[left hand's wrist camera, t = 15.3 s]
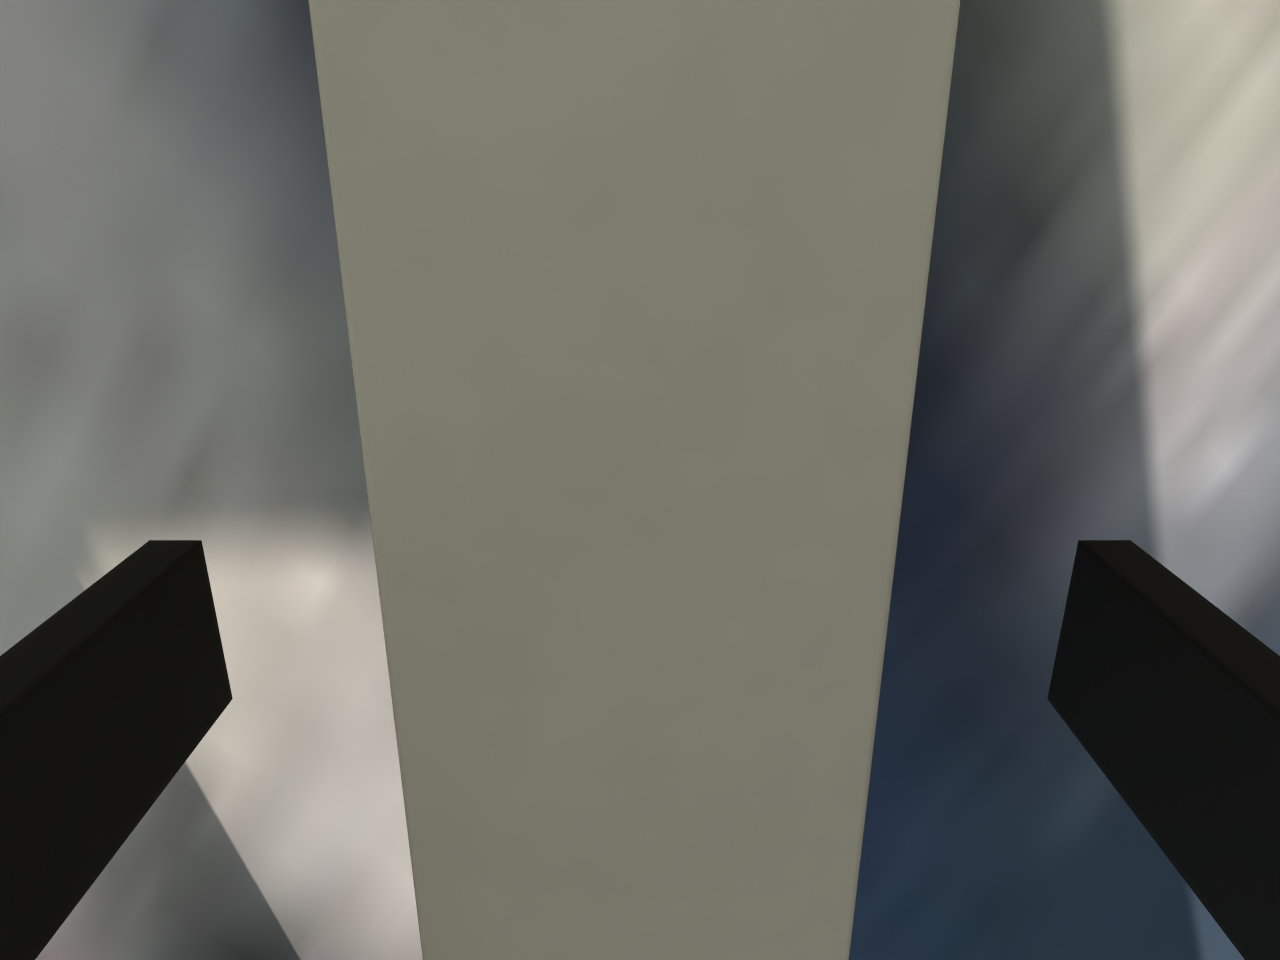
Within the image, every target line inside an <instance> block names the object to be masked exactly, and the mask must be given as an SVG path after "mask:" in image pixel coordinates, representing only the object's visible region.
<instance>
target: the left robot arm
mask: <svg viewBox="0 0 1280 960" xmlns="http://www.w3.org/2000/svg"><path fill="white" fill-rule="evenodd" d="M231 700H232V694H231V689H230V684H229V679H228V674H227V668H226V663H225V658H224V653H223V648H222V643H221V638H220V633H219V628H218V623H217V617H216V612H215V607H214V602H213V597H212V592H211V587H210V582H209V577H208V571H207V566H206V561H205V556H204V551H203V546H202V541H201V540H149V541H148V542H147V543H146V544H144V545H143V546H142V547H140V548H139V549H138V550H137V551H135V552H134V553H133V554H131V555H130V556H129V557H128V558H126V559H125V560H124V561H122V562H121V563H120V564H119V565H117V566H116V567H115V568H113V569H112V570H111V571H109V572H108V573H107V574H106V575H104V576H103V577H102V578H100V579H99V580H98V581H97V582H95V583H94V584H93V585H91V586H90V587H89V588H88V589H86V590H85V591H84V592H82V593H81V594H80V595H79V596H77V597H76V598H75V599H73V600H72V601H71V602H69V603H68V604H67V605H66V606H64V607H63V608H62V609H60V610H59V611H58V612H57V613H55V614H54V615H53V616H51V617H50V618H49V619H48V620H46V621H45V622H44V623H42V624H41V625H40V626H39V627H37V628H36V629H35V630H33V631H32V632H31V633H30V634H28V635H27V636H26V637H24V638H23V639H22V640H20V641H19V642H18V643H17V644H15V645H14V646H13V647H11V648H10V649H9V650H8V651H6V652H5V653H4V654H2V655H1V656H0V960H35V959H36V958H37V956H38V955H39V954H40V953H41V951H42V950H43V949H44V947H45V946H46V945H47V943H48V942H49V941H50V939H51V938H52V937H53V935H54V934H55V933H56V931H57V930H58V929H59V927H60V926H61V925H62V923H63V922H64V921H65V919H66V918H67V917H68V916H69V914H70V913H71V912H72V910H73V909H74V908H75V906H76V905H77V904H78V902H79V901H80V900H81V898H82V897H83V896H84V894H85V893H86V892H87V890H88V889H89V888H90V886H91V885H92V884H93V882H94V881H95V880H96V878H97V877H98V876H99V875H100V873H101V872H102V871H103V869H104V868H105V867H106V865H107V864H108V863H109V861H110V860H111V859H112V857H113V856H114V855H115V853H116V852H117V851H118V849H119V848H120V847H121V845H122V844H123V843H124V841H125V840H126V839H127V838H128V836H129V835H130V834H131V832H132V831H133V830H134V828H135V827H136V826H137V824H138V823H139V822H140V820H141V819H142V818H143V816H144V815H145V814H146V812H147V811H148V810H149V808H150V807H151V806H152V804H153V803H154V802H155V801H156V799H157V798H158V797H159V795H160V794H161V793H162V791H163V790H164V789H165V787H166V786H167V785H168V783H169V782H170V781H171V779H172V778H173V777H174V775H175V774H176V773H177V771H178V770H179V769H180V767H181V766H182V765H183V764H184V762H185V761H186V760H187V758H188V757H189V756H190V754H191V753H192V752H193V750H194V749H195V748H196V746H197V745H198V744H199V742H200V741H201V740H202V738H203V737H204V736H205V734H206V733H207V732H208V730H209V729H210V728H211V727H212V725H213V724H214V723H215V721H216V720H217V719H218V717H219V716H220V715H221V713H222V712H223V711H224V709H225V708H226V707H227V705H228V704H229V703H230V701H231ZM1048 700H1049V701H1050V703H1051V704H1052V705H1053V707H1054V708H1055V709H1056V711H1057V712H1058V713H1059V715H1060V716H1061V717H1062V719H1063V720H1064V721H1065V723H1066V724H1067V725H1068V727H1069V728H1070V729H1071V730H1072V732H1073V733H1074V734H1075V736H1076V737H1077V738H1078V740H1079V741H1080V742H1081V744H1082V745H1083V746H1084V748H1085V749H1086V750H1087V752H1088V753H1089V754H1090V756H1091V757H1092V758H1093V760H1094V761H1095V762H1096V764H1097V765H1098V766H1099V767H1100V769H1101V770H1102V771H1103V773H1104V774H1105V775H1106V777H1107V778H1108V779H1109V781H1110V782H1111V783H1112V785H1113V786H1114V787H1115V789H1116V790H1117V791H1118V793H1119V794H1120V795H1121V797H1122V798H1123V799H1124V801H1125V802H1126V803H1127V805H1128V806H1129V807H1130V808H1131V810H1132V811H1133V812H1134V814H1135V815H1136V816H1137V818H1138V819H1139V820H1140V822H1141V823H1142V824H1143V826H1144V827H1145V828H1146V830H1147V831H1148V832H1149V834H1150V835H1151V836H1152V838H1153V839H1154V840H1155V842H1156V843H1157V844H1158V845H1159V847H1160V848H1161V849H1162V851H1163V852H1164V853H1165V855H1166V856H1167V857H1168V859H1169V860H1170V861H1171V863H1172V864H1173V865H1174V867H1175V868H1176V869H1177V871H1178V872H1179V873H1180V875H1181V876H1182V877H1183V879H1184V880H1185V881H1186V882H1187V884H1188V885H1189V886H1190V888H1191V889H1192V890H1193V892H1194V893H1195V894H1196V896H1197V897H1198V898H1199V900H1200V901H1201V902H1202V904H1203V905H1204V906H1205V908H1206V909H1207V910H1208V912H1209V913H1210V914H1211V916H1212V917H1213V918H1214V919H1215V921H1216V922H1217V923H1218V925H1219V926H1220V927H1221V929H1222V930H1223V931H1224V933H1225V934H1226V935H1227V937H1228V938H1229V939H1230V941H1231V942H1232V943H1233V945H1234V946H1235V947H1236V949H1237V950H1238V951H1239V953H1240V954H1241V955H1242V957H1243V958H1244V959H1245V960H1280V656H1279V655H1278V654H1276V653H1275V652H1274V651H1272V650H1271V649H1270V648H1269V647H1267V646H1266V645H1265V644H1263V643H1262V642H1261V641H1259V640H1258V639H1257V638H1256V637H1254V636H1253V635H1252V634H1250V633H1249V632H1248V631H1247V630H1245V629H1244V628H1243V627H1241V626H1240V625H1239V624H1238V623H1236V622H1235V621H1234V620H1232V619H1231V618H1230V617H1229V616H1227V615H1226V614H1225V613H1223V612H1222V611H1221V610H1220V609H1218V608H1217V607H1216V606H1214V605H1213V604H1212V603H1210V602H1209V601H1208V600H1207V599H1205V598H1204V597H1203V596H1201V595H1200V594H1199V593H1198V592H1196V591H1195V590H1194V589H1192V588H1191V587H1190V586H1189V585H1187V584H1186V583H1185V582H1183V581H1182V580H1181V579H1180V578H1178V577H1177V576H1176V575H1174V574H1173V573H1172V572H1171V571H1169V570H1168V569H1167V568H1165V567H1164V566H1163V565H1161V564H1160V563H1159V562H1158V561H1156V560H1155V559H1154V558H1152V557H1151V556H1150V555H1149V554H1147V553H1146V552H1145V551H1143V550H1142V549H1141V548H1140V547H1138V546H1137V545H1136V544H1134V543H1133V542H1132V541H1131V540H1079V541H1078V546H1077V551H1076V556H1075V561H1074V566H1073V571H1072V576H1071V582H1070V587H1069V592H1068V597H1067V602H1066V607H1065V612H1064V617H1063V622H1062V628H1061V633H1060V638H1059V643H1058V648H1057V653H1056V658H1055V663H1054V668H1053V673H1052V679H1051V684H1050V689H1049V694H1048Z"/></svg>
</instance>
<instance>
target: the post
mask: <svg viewBox="0 0 1280 960" xmlns="http://www.w3.org/2000/svg"><path fill="white" fill-rule="evenodd" d="M309 8H310V17H311V25H312V33H313V42H314V50H315V58H316V67H317V75H318V84H319V92H320V100H321V109H322V117H323V126H324V134H325V142H326V151H327V159H328V167H329V176H330V184H331V193H332V201H333V209H334V218H335V226H336V235H337V243H338V251H339V260H340V268H341V276H342V285H343V293H344V302H345V310H346V318H347V327H348V335H349V344H350V352H351V360H352V369H353V377H354V385H355V394H356V402H357V411H358V419H359V427H360V436H361V444H362V453H363V461H364V469H365V478H366V486H367V494H368V503H369V511H370V520H371V528H372V536H373V545H374V553H375V562H376V570H377V578H378V587H379V595H380V603H381V612H382V620H383V629H384V637H385V645H386V654H387V662H388V671H389V679H390V687H391V696H392V704H393V712H394V721H395V729H396V738H397V746H398V754H399V763H400V771H401V780H402V788H403V796H404V805H405V813H406V821H407V830H408V838H409V847H410V855H411V863H412V872H413V880H414V889H415V897H416V905H417V914H418V922H419V930H420V939H421V947H422V956H423V960H849V952H850V944H851V935H852V927H853V918H854V909H855V901H856V892H857V884H858V875H859V867H860V858H861V849H862V841H863V832H864V824H865V815H866V806H867V798H868V789H869V781H870V772H871V763H872V755H873V746H874V738H875V729H876V721H877V712H878V703H879V695H880V686H881V678H882V669H883V660H884V652H885V643H886V635H887V626H888V618H889V609H890V600H891V592H892V583H893V575H894V566H895V557H896V549H897V540H898V532H899V523H900V514H901V506H902V497H903V489H904V480H905V472H906V463H907V454H908V446H909V437H910V429H911V420H912V411H913V403H914V394H915V386H916V377H917V368H918V360H919V351H920V343H921V334H922V326H923V317H924V308H925V300H926V291H927V283H928V274H929V265H930V257H931V248H932V240H933V231H934V222H935V214H936V205H937V197H938V188H939V180H940V171H941V162H942V154H943V145H944V137H945V128H946V119H947V111H948V102H949V94H950V85H951V77H952V68H953V59H954V51H955V42H956V34H957V25H958V16H959V8H960V0H309Z"/></svg>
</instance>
